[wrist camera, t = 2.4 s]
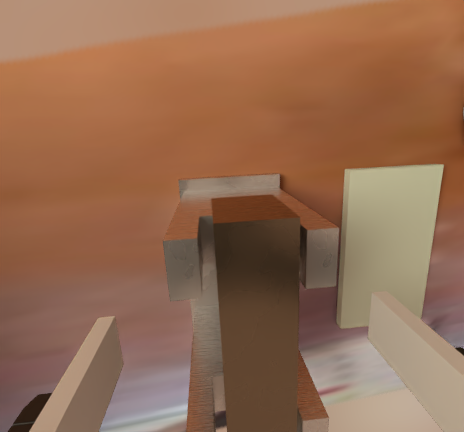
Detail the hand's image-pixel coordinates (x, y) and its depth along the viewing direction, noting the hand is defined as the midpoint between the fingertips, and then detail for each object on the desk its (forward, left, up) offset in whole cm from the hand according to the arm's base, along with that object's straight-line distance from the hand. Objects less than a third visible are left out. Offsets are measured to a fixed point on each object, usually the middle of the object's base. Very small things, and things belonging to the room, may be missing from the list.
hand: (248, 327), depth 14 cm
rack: (0, 0, -8) cm, 8 cm away
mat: (+12, 0, -8) cm, 14 cm away
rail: (0, 0, -1) cm, 1 cm away
